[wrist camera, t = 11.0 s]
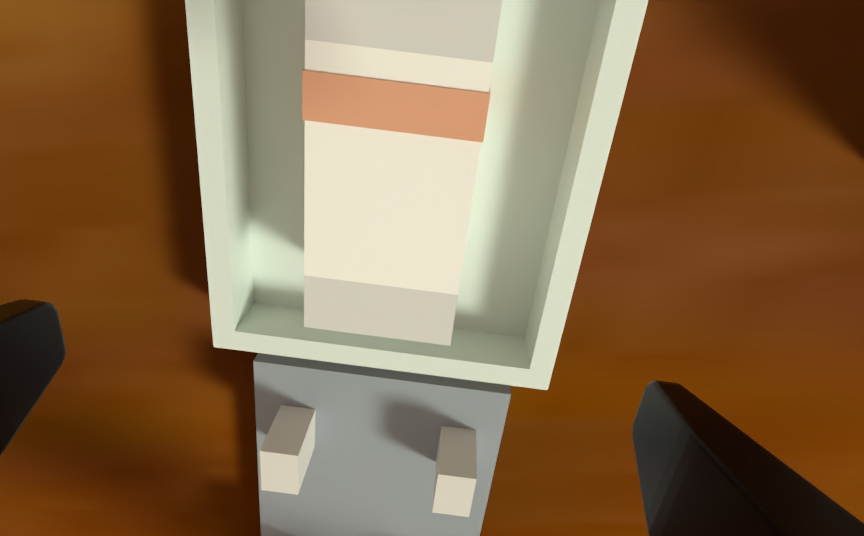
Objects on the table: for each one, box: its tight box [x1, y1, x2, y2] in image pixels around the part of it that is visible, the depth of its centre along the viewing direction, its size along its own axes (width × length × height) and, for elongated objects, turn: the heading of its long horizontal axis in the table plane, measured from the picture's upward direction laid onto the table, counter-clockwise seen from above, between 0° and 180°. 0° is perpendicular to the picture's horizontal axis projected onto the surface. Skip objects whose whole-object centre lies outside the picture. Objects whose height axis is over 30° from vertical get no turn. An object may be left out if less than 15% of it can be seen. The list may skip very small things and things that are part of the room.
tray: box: [185, 0, 648, 390], centre depth 18 cm, size 16×12×2 cm
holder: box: [253, 353, 511, 536], centre depth 24 cm, size 14×10×4 cm
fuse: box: [302, 0, 502, 346], centre depth 16 cm, size 10×5×4 cm, turn 174°
